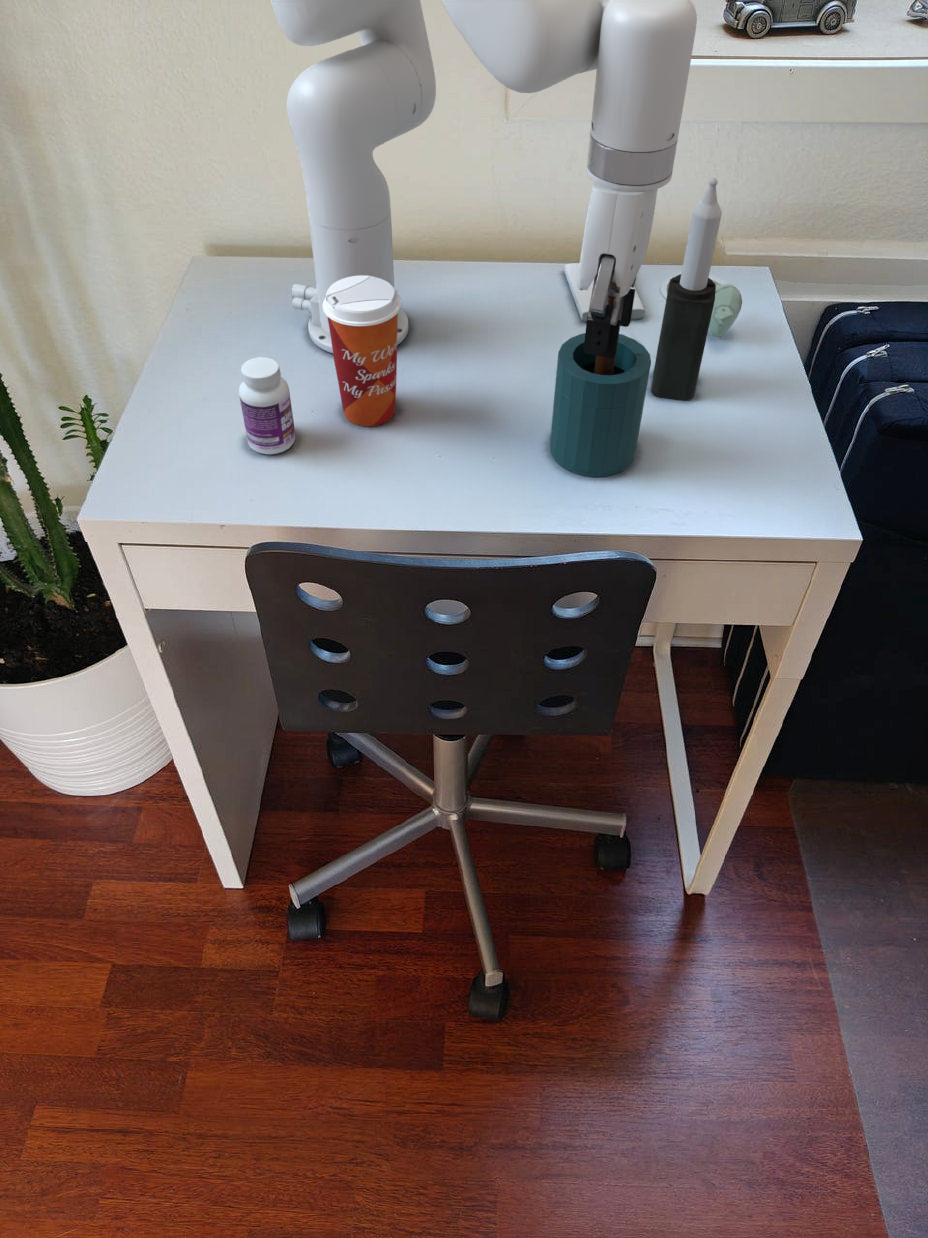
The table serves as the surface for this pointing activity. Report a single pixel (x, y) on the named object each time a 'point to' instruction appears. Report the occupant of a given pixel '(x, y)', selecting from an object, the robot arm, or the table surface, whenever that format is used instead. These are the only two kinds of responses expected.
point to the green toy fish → (724, 309)
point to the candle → (688, 307)
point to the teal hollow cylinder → (598, 408)
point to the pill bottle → (266, 406)
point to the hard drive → (584, 296)
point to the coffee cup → (364, 346)
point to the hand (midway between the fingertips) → (607, 336)
